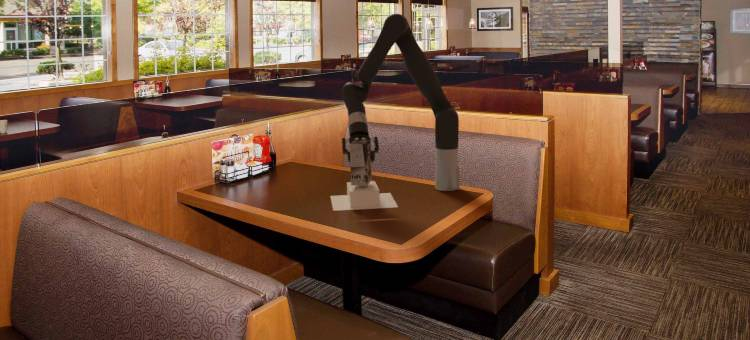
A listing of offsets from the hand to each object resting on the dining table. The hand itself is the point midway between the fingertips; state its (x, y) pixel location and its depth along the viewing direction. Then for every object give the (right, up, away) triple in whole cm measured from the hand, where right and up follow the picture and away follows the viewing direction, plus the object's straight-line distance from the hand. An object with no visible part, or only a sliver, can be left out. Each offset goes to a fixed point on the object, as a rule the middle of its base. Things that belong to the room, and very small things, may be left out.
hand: (361, 161), depth 232 cm
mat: (0, -16, +3) cm, 16 cm away
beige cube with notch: (0, -15, +3) cm, 15 cm away
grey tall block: (0, -8, +1) cm, 8 cm away
